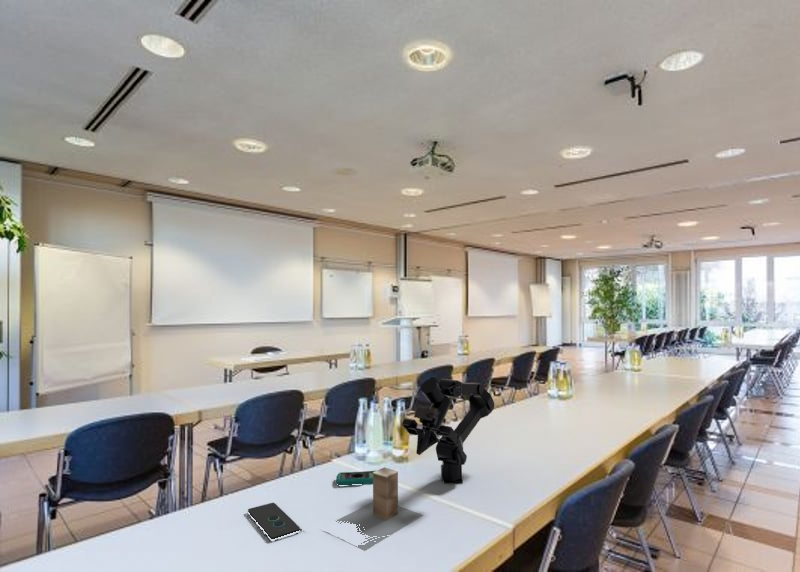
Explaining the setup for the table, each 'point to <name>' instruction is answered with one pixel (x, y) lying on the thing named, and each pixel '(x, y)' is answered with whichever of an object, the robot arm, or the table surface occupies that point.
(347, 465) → the table surface
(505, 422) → the table surface
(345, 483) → the digital multimeter
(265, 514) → the dark grey notebook
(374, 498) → the walnut block
